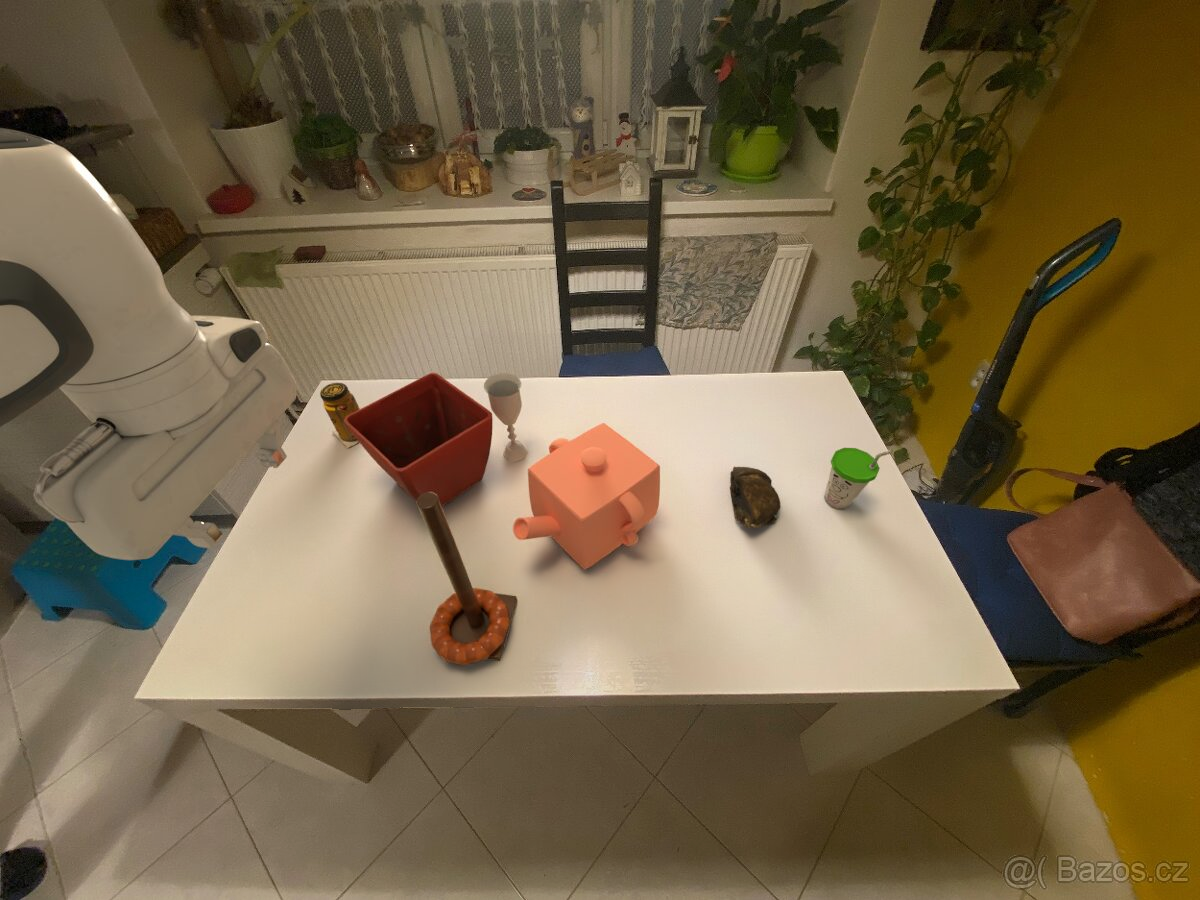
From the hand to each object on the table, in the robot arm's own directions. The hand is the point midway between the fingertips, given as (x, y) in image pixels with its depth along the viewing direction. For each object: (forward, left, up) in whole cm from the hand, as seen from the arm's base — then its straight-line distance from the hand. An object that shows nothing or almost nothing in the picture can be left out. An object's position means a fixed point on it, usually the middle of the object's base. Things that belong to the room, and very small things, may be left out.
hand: (245, 499), depth 47 cm
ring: (+7, -12, -37) cm, 39 cm away
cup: (+42, -72, -40) cm, 92 cm away
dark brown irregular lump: (+39, -56, -40) cm, 79 cm away
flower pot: (+37, +5, -40) cm, 54 cm away
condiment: (+48, +28, -40) cm, 68 cm away
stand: (+8, -12, -40) cm, 42 cm away
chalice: (+46, -8, -40) cm, 61 cm away
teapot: (+28, -25, -40) cm, 55 cm away
